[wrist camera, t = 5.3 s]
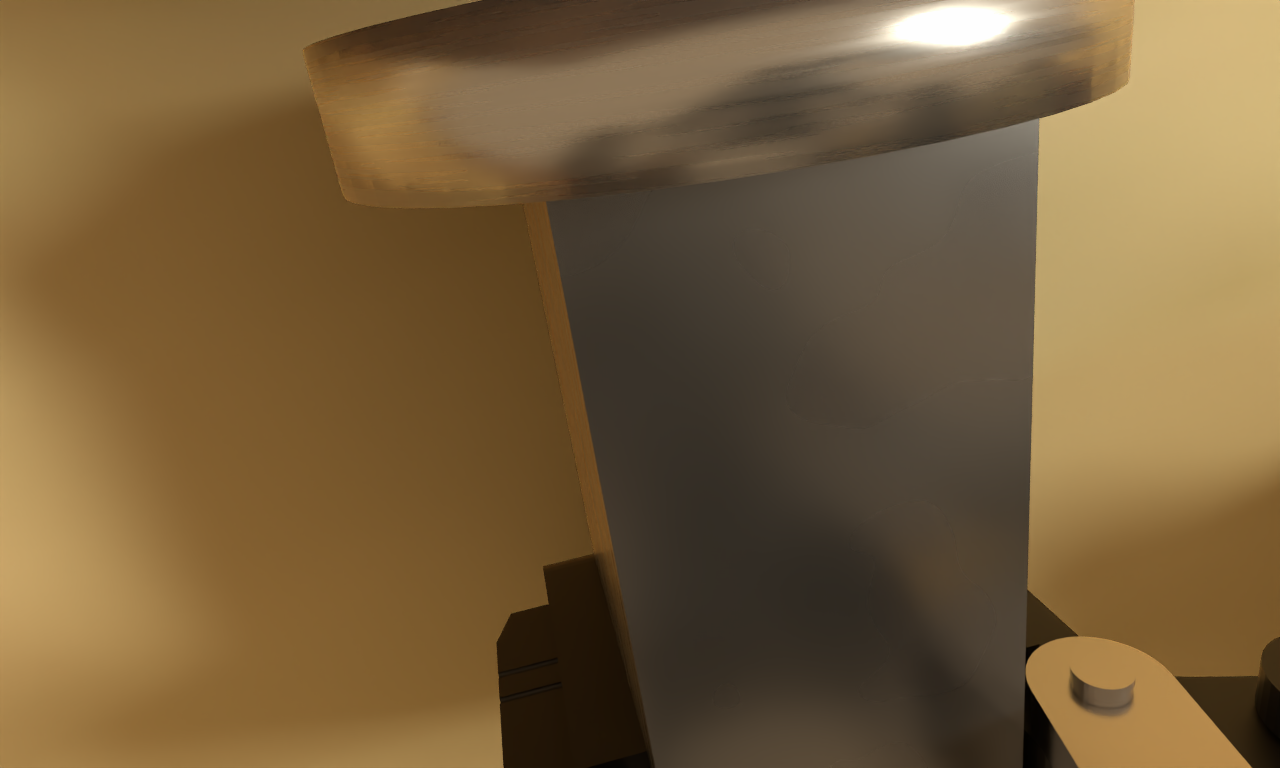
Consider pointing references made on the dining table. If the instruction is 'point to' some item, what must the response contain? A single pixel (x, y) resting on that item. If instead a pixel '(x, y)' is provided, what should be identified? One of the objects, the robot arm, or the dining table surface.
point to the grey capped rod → (769, 331)
